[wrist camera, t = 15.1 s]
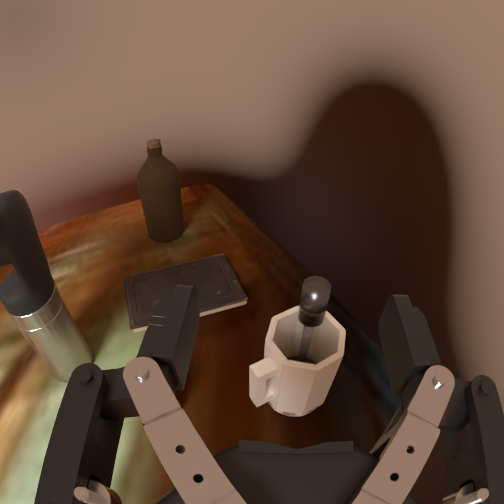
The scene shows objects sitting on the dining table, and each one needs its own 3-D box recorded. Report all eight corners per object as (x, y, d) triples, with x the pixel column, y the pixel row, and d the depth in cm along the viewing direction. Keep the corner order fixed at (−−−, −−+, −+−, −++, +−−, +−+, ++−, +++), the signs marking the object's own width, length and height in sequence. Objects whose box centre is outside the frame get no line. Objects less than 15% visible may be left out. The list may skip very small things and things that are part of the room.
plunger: (265, 371, 45) (271, 277, 34) (302, 352, 48) (321, 257, 36) (290, 405, 40) (311, 319, 29) (329, 383, 43) (361, 293, 32)
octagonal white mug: (237, 388, 47) (233, 333, 38) (301, 356, 52) (314, 297, 43) (269, 436, 40) (276, 394, 31) (336, 397, 45) (361, 344, 36)
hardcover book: (248, 307, 62) (248, 298, 61) (133, 336, 55) (130, 328, 54) (223, 259, 74) (222, 251, 72) (126, 282, 67) (123, 274, 66)
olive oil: (168, 248, 76) (153, 150, 61) (138, 236, 80) (121, 146, 65) (194, 227, 84) (185, 136, 68) (164, 217, 88) (153, 132, 72)
